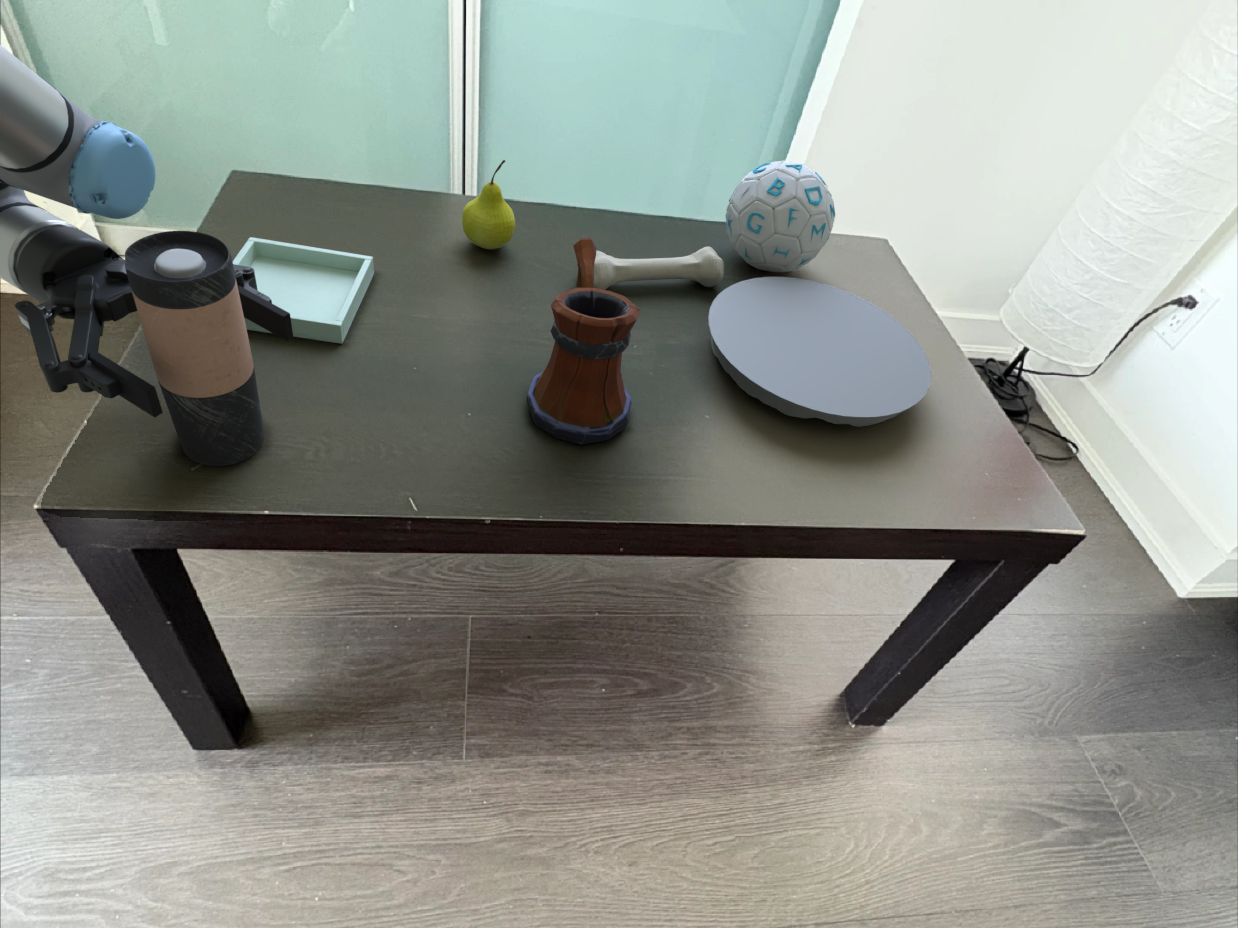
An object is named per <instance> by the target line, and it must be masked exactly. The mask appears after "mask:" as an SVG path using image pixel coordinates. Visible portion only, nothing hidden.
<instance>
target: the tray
mask: <svg viewBox="0 0 1238 928" xmlns="http://www.w3.org/2000/svg"><path fill="white" fill-rule="evenodd" d="M232 262H233V264H236V265H241V266H247V267H251V268H253V269H254V272H255V278H256V283H257V289H258V291H259V292H261V293H263V294H264V295H267V296H268V297H270V299H271V301H272V304H274V305H276V306H277V307H279V308H281V309H283V310H285V311H287V312H288V313H290V317H291V324H292V331H293V338H299V339H300V338H301V339H308V340H314V341H321V342H326V343H327V342H328V343H335V344H341V345H342V344H343V343H344V341H345V339H346V337H347V335H348V333H349V330H350V328H351V326H352V324H353V321H354V319H355V318H356V315H357V312H358V310H359V308H360V306H361V304H362V302H363V299H364V297H365V295H366V293H367V291H368V288H369V287H370V284H371V282H372V280H373V278H374V275H375V267H374V256H370V255H365V254H360V253H359V254H358V253H353V252H352V253H351V252H345V251H339V250H332V249H327V248H322V247H321V248H320V247H314V246H308V245H302V244H296V243H290V242H283V241H277V240H271V239H264V238H258V237H252V236H250V237H248V239H247V240H246V242H245V243H244V244H243V246H242V248H241V249H240V250H239V252H238V254H236V255H235V257H234V259H232ZM244 320H245V325H246V330H247V331H253V332H261V333H268V334H272V333H271V332H270V331H268V330H266V329H264V328H262V327H261V326H259V325H257V324H255V323H253V322H252V321H250V320H248V319H246V318H244Z"/></svg>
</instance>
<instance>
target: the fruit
mask: <svg viewBox="0 0 1238 928" xmlns="http://www.w3.org/2000/svg"><path fill="white" fill-rule="evenodd" d="M505 163H506V160H505V159H503V160H502V161H501V163H500V164H499V165H498V166H497V168H496V169H495V170H494V173H493V175H492V177H491V180H490V181H488V182H486V183H485V184H484V185H483V187H482V189H481V191H480V193H479V195H478V196H476V197H475V198H474V199H472V200H470V201H469V202H467V203H466V204H465V206H464V207H463V210H462V214H461V215H462V216H461V224H462V229H463V233H464V234H465V236H466V237H467V238H468V240H469V241H470V242H471V243H473V244H474V245H475V246H477V247H479V248H481V249H485V250H496V249H500V248H502V247H504V246H505V245H508V243H509V242H510V241H511V240H512V238H513V235H514V232H515V229H516V218H515V213H514V211H513V209H512V207H511V206H510V205H509V204H508V203H507V202H506V201H505V199H504V197H503V194H502V190H501V187H500V186H499V184H498V183H496V182H494V180H495V179H494V178H495V175H496V174H497V172H499V170H500V169H501V167H503V165H504V164H505Z"/></svg>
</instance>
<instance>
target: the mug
mask: <svg viewBox="0 0 1238 928" xmlns="http://www.w3.org/2000/svg"><path fill="white" fill-rule="evenodd" d="M572 247H573V250H574V254H575V258H576V263H577V264H576V265H577V279H576V280H577V281H576V287H575V288H572V289H570V290H566V291H564V292H561V293H560V294H558V295H556V297H555V298H554V299H553V301H552V303H551V304H550V307H551V311H552V314H553V318H554V321H553V323H552V326H551V329H550V334H551V336H552V338H553V340H554V343H553V346H552V351H551V355H550V358H549V361H548V363H547V365H546V367H545V368H544V370H543V371H541V372H538V373H537V374H536V375H534V376H533V377H532V380H531V383H530V386H529V389H528V393H527V395H526V403H527V406H528V410H529V411H530V415H531V417H532V420H533V422H534V424H535V426H537V427H539V428H540V429H541V430H543V431H544V432H546V433H548V434H550V435H551V436H552V437H554V438H555V439H559V440H563V441H567V442H571V443H574V444H578V445H586V444H591V443H597V442H602V441H607V440H610V439H611V438H612V437H614V436H615V435H617V434H619V433H620V432H622V431H623V430H624V429H626V427H627V424H628V420H629V416H630V411H631V406H632V397H631V396H630V393H629V392H628V391H627V389H626V387H625V384H624V380H623V375H622V369H621V368H622V356H623V353H624V352H625V350H626V349H627V348H628V347H629V345H630V342H631V336H632V333H631V331H632V329H633V327H634V326H635V324H636V322H637V321H638V318H639V316H640V313H641V312H640V308H639V307H638V306H637V305H635V304H634V303H633V302H632V301H631V300H629V298H628V297H626V296H625V295H622V294H620V293H616V292H614V291H611V290H607V289H605V290H603V289H598V288H594V263H595V258H596V251H597V247H596V245H595V243H594V241H593V239H592V238H590V237H584V238H580V239H578V241H576V242H575V243H574V244H573V245H572Z"/></svg>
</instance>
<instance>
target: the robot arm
mask: <svg viewBox="0 0 1238 928" xmlns="http://www.w3.org/2000/svg"><path fill="white" fill-rule="evenodd" d="M155 164H156V163H155V160H154V157H153V154H152V152H151V150H150V148H149V147H148V144H146V143H145V141H144V140H143V139H142V138H141V137H140V136H138V135H137V134H136V133H134V132H132V131H130V130H128V129H125V128H122V127H120V126H118V125H117V124H116V123H114V122H111V121H107V120H100V119H97V118H94V116H91V115H89V114H88V113H86V112H85V111H84V110H82V109H81V108H80V107H79V106H77V104H75V103H74V102H72V101H71V100H70V99H69V98H67V97H66V96H65V95H63V94H62V93H61V92H60V91H58V90H57V89H56V88H54V87H53V86H52V85H50V84H49V83H48V82H47V81H45V80H44V79H43V78H42V77H41V76H40V75H38V74H37V73H36V72H34V71H33V70H32V69H31V68H29V66H27V65H26V64H25V63H24V62H23V61H21V60H20V59H19V58H18V57H16V56H15V55H14V54H13V53H12V52H10V51H9V50H8V49H6V48H5V47H4V46H3V45H2V44H0V279H2V280H3V281H5V282H6V283H8V284H9V285H11V286H13V287H15V288H16V289H18V290H20V291H22V292H23V293H25V294H27V295H28V296H29V297H31V298H32V299H34V300H35V301H37V302H38V303H40V304H37V305H35V304H34V303H33V302H31V301H29V300H21V301H17V302H16V303H15V304H14V308H15V310H16V312H17V315H18V317H19V320H20V322H21V324H22V326H23V329H24V330H25V332H26V333H27V334H28V335H29V336H31V338H32V342H33V346H34V350H35V352H36V356H37V360H38V364H39V367H40V369H41V372H42V374H43V377H44V379H45V381H46V383H47V386H48V388H49V390H50V391H51V392H52V393H56V394H57V393H59V394H60V393H62V392H66V391H67V390H68V387H69V385H73V384H77V386H78V388H79V390H80V391H81V392H82V393H92V392H96V393H98V394H100V395H101V396H103V397H104V398H107V399H111V400H112V399H115V398H116V397H118V396H120V397H121V398H123V399H124V400H125V401H128V402H129V403H130V404H132V405H134V406H135V407H137V408H139V409H140V410H142V411H144V412H145V413H146V414H148V415H150V416H151V417H153V418H157V417H158V416H160V415H162V414H163V413H164V411H163V407H162V406H161V402H160V399H159V395H158V392H157V388H156V386H154V385H152V384H151V383H149V382H148V381H146V380H145V379H142V378H141V377H139V376H138V375H136V374H135V373H133V372H131V371H130V370H128V369H126V368H125V367H124V366H121V365H120V364H118V363H117V362H115V361H113V360H112V359H110V358H109V357H107V356H105V355H104V354H102V353H100V352H99V349H100V348H99V347H100V340H101V337H103V335H104V328H105V327H104V326H105V322H110V321H112V322H114V323H116V322H117V321H120V320H122V319H124V318H125V317H126V316H128V315H129V314H132V313H136V312H138V311H137V307H136V304H135V300H134V297H133V294H132V290H131V287H130V283H129V280H128V277H127V273H126V269H125V258H123V257H122V256H121V255H119V253H117V252H116V251H115V250H114V249H113V248H112V247H111V246H109V245H108V244H106V243H105V242H103V241H101V240H100V239H98V238H96V237H95V236H92V235H91V234H90V233H87V232H86V231H83V230H82V229H80V228H79V227H78V226H75V225H74V224H72V223H70V222H68V221H66V220H64V219H62V218H60V217H59V216H56V215H55V214H53V213H51V212H50V211H48V210H46V209H44V207H41V206H39V205H36V204H35V203H33V201H30V200H29V199H28V197H27V195H26V193H25V192H28V193H31V194H33V195H37V196H40V197H42V198H45V199H48V200H50V201H54V202H57V203H60V204H62V205H65V206H69V207H72V208H73V209H77V211H79V212H80V213H82V214H94V215H97V216H101V217H104V218H107V219H113V220H121V219H122V220H123V219H127V218H130V217H133V216H134V215H136V214H138V213H139V212H140V211H141V210H142V209H143V208H144V207H145V206H146V205H147V204H148V202H149V198H150V197H151V193H152V192H153V190H154V188H155V185H156V183H155V182H156V165H155ZM233 267H234V272H235V277H236V281H237V286H238V291H239V296H240V301H241V305H242V310H243V315H244V318H246V319H248V320H250V321H252V322H253V323H255V324H257V325H259V326H261V327H262V328H264V329H266V330H268V331H270V332H271V333H270V334H272V335H275V336H277V337H279V338H280V339H282V340H283V341H286V342H289V341H290V340H292V339H294V337H293V331H292V324H291V317H290V313H288V312H287V311H285V310H283V309H281V308H279V307H277V306H276V305H274V304H272V301H271V299H270V297H268V296H267V295H264V294H263V293H261V292H259V291H258V289H257V283H256V278H255V272H254V269H253V268H251V267H247V266H241V265H236V264H233ZM56 317H59V318H62V319H64V320H65V319H66V320H73V324H72V325H73V326H72V330H71V336H70V342H69V349H68V353H67V354H68V355H67V359H66V360H63V361H61V357H60V355H59V352H58V349H57V345H56V342H55V338H54V336H53V334H52V332H53V331H54V325H55V324H56V320H55V318H56Z"/></svg>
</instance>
